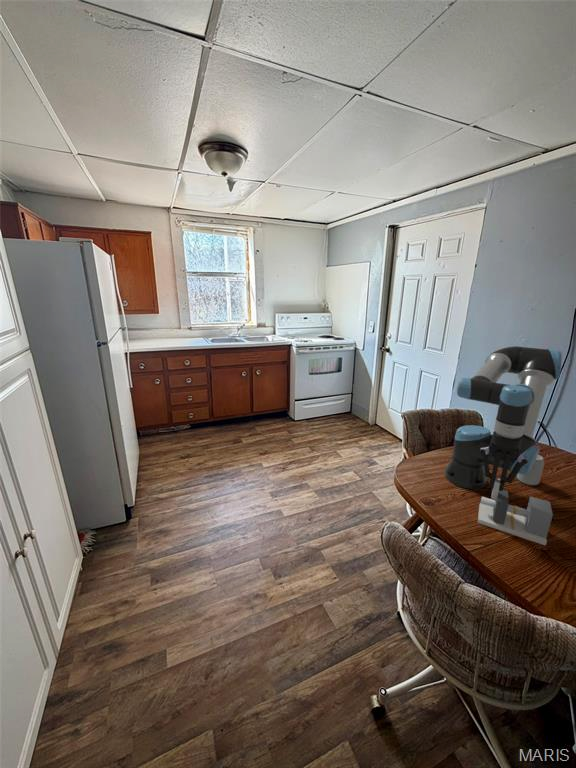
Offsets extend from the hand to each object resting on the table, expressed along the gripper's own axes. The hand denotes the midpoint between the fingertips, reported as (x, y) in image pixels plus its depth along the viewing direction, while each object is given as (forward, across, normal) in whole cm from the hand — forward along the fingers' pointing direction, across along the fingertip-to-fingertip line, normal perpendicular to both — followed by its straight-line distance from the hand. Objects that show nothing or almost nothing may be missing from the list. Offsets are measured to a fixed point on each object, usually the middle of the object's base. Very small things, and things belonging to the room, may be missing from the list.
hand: (494, 496), depth 102 cm
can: (+9, +12, +34) cm, 38 cm away
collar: (+7, +2, 0) cm, 7 cm away
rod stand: (+9, +6, 0) cm, 10 cm away
